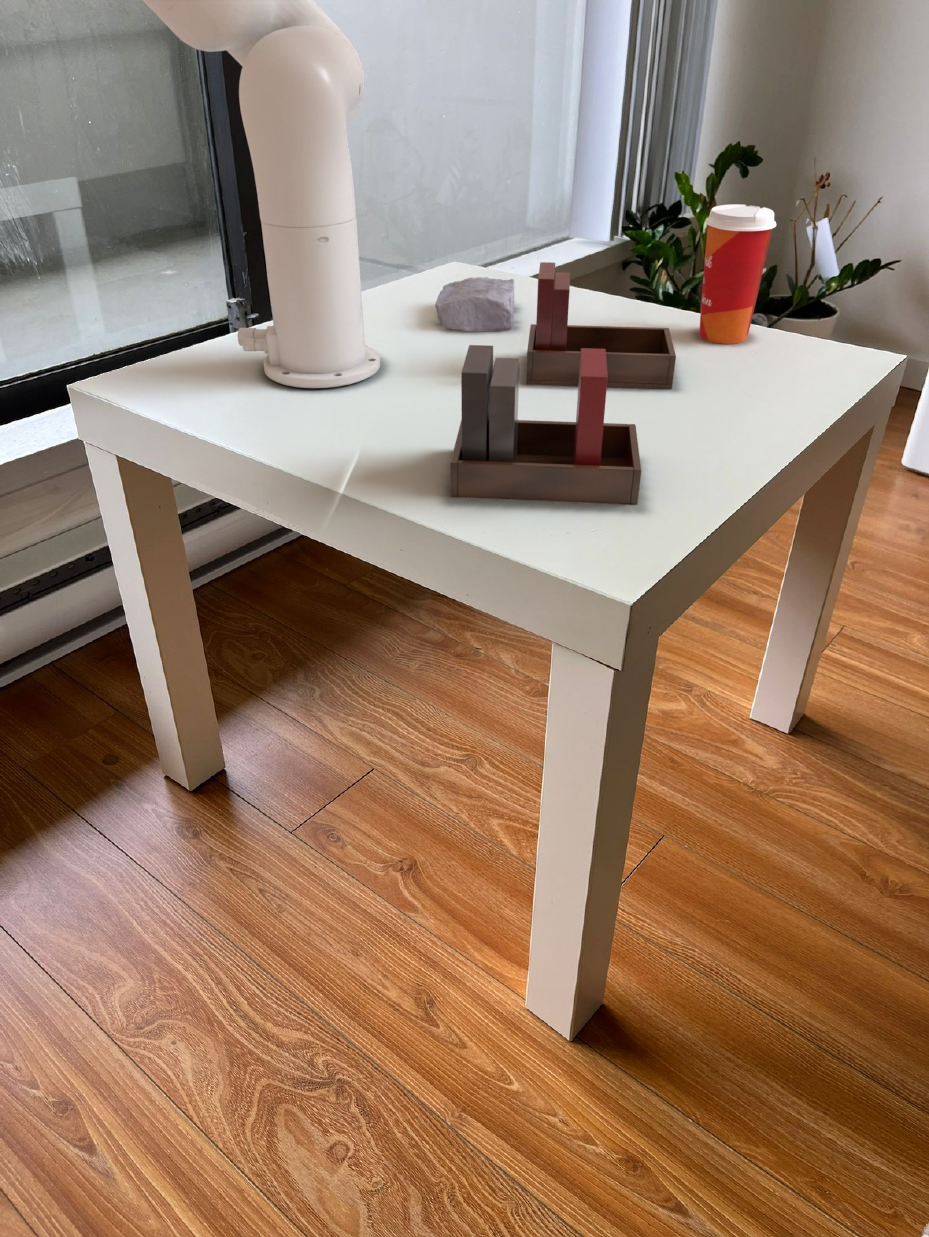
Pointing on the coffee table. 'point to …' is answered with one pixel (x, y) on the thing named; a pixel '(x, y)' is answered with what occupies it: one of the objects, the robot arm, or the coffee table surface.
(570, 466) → the brown crate
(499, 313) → the stone block
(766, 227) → the paper cup
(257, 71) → the robot arm
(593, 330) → the brown open box
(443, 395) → the coffee table surface
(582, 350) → the burgundy book
